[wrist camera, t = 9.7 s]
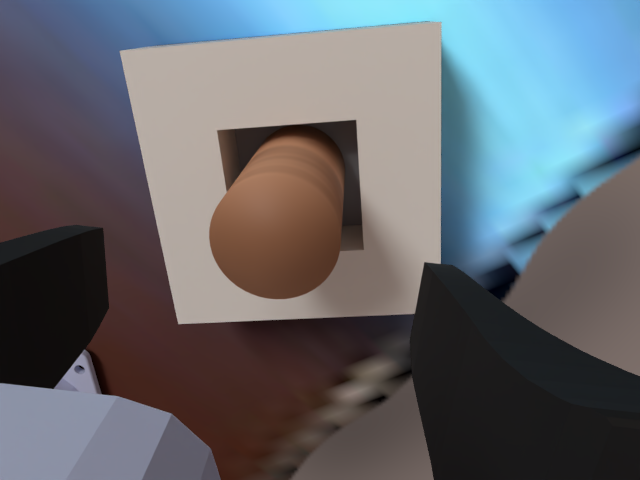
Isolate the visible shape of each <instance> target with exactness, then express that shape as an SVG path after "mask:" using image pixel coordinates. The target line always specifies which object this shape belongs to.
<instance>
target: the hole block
mask: <svg viewBox="0 0 640 480" xmlns="http://www.w3.org/2000/svg"><path fill="white" fill-rule="evenodd" d="M120 55H121V59H122V64H123V69H124V73H125V78H126V83H127V87H128V92H129V97H130V101H131V106H132V111H133V115H134V120H135V124H136V129H137V134H138V138H139V143H140V148H141V152H142V157H143V162H144V166H145V171H146V176H147V180H148V185H149V190H150V194H151V199H152V204H153V208H154V213H155V218H156V222H157V227H158V232H159V236H160V241H161V245H162V250H163V255H164V259H165V264H166V269H167V273H168V278H169V283H170V287H171V292H172V297H173V301H174V306H175V311H176V315H177V320H178V324H190V323H214V322H237V321H260V320H283V319H307V318H330V317H353V316H376V315H400V314H415V310H416V305H417V299H418V294H419V288H420V283H421V277H422V272H423V267H424V262H427V263H437V264H441V22H430V21H425V22H413V23H402V24H391V25H380V26H369V27H358V28H347V29H336V30H324V31H313V32H302V33H291V34H280V35H269V36H258V37H246V38H235V39H224V40H213V41H202V42H191V43H180V44H168V45H157V46H150V47H143V48H136V49H129V50H122V51H120ZM291 125H306V126H311V127H314V128H316V129H319V130H321V131H323V132H324V133H326V134H327V135H328V136H329V137H330V138H332V139H333V140H334V142H335V143H336V144H337V146H338V147H339V149H340V151H341V153H342V155H343V159H344V163H345V183H344V199H343V215H342V231H341V246H340V253H339V257H338V260H337V263H336V265H335V267H334V269H333V271H332V272H331V274H330V275H329V276H328V278H327V279H326V280H325V281H324V282H323V283H322V284H321V285H320V286H318V287H317V288H315V289H314V290H312V291H310V292H308V293H307V294H304V295H301V296H298V297H294V298H289V299H268V298H263V297H259V296H256V295H253V294H250V293H248V292H246V291H244V290H242V289H241V288H239V287H238V286H236V285H235V284H234V283H232V282H231V281H230V280H229V279H228V278H227V277H226V276H225V275H224V274H223V272H222V271H221V270H220V268H219V267H218V265H217V263H216V261H215V259H214V257H213V254H212V251H211V247H210V241H209V228H210V222H211V219H212V216H213V213H214V211H215V209H216V207H217V206H218V204H219V203H220V201H221V200H222V198H223V197H224V196H225V194H226V193H227V191H228V190H229V189H230V187H231V186H232V185H233V183H234V182H235V180H236V179H237V178H238V176H239V175H240V173H241V172H242V171H243V169H244V168H245V167H246V165H247V164H248V162H249V161H250V160H251V158H252V157H253V156H254V154H255V153H256V151H257V150H258V149H259V147H260V146H261V144H262V143H263V142H264V141H265V139H266V138H267V137H268V136H270V135H271V134H272V133H273V132H275V131H277V130H279V129H281V128H283V127H287V126H291Z"/></svg>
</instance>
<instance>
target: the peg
mask: <svg viewBox="0 0 640 480" xmlns="http://www.w3.org/2000/svg"><path fill="white" fill-rule="evenodd" d="M344 183H345V163H344V159H343V155H342V153H341V151H340V149H339V147H338V146H337V144H336V143H335V142H334V140H333V139H332V138H330V137H329V136H328V135H327V134H326V133H324V132H323V131H321V130H319V129H316V128H314V127H311V126H306V125H291V126H287V127H283V128H281V129H279V130H277V131H275V132H273V133H272V134H271V135H270V136H268V137H267V138H266V139H265V141H264V142H263V143H262V144H261V146H260V147H259V149H258V150H257V151H256V153H255V154H254V156H253V157H252V158H251V160H250V161H249V162H248V164H247V165H246V167H245V168H244V169H243V171H242V172H241V173H240V175H239V176H238V178H237V179H236V180H235V182H234V183H233V185H232V186H231V187H230V189H229V190H228V191H227V193H226V194H225V196H224V197H223V198H222V200H221V201H220V203H219V204H218V206H217V207H216V209H215V211H214V213H213V216H212V219H211V222H210V228H209V241H210V247H211V251H212V254H213V257H214V259H215V261H216V263H217V265H218V267H219V268H220V270H221V271H222V272H223V274H224V275H225V276H226V277H227V278H228V279H229V280H230V281H231V282H232V283H234V284H235V285H236V286H238V287H239V288H241V289H242V290H244V291H246V292H248V293H250V294H253V295H256V296H259V297H263V298H268V299H289V298H294V297H298V296H301V295H304V294H307V293H308V292H310V291H312V290H314V289H315V288H317V287H318V286H320V285H321V284H322V283H323V282H324V281H325V280H326V279H327V278H328V276H329V275H330V274H331V272H332V271H333V269H334V267H335V265H336V263H337V260H338V257H339V253H340V246H341V231H342V215H343V199H344Z"/></svg>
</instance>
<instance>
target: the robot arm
mask: <svg viewBox="0 0 640 480" xmlns="http://www.w3.org/2000/svg"><path fill="white" fill-rule="evenodd" d="M108 309H109V302H108V288H107V275H106V261H105V248H104V234H103V228H98V227H89V226H80V225H73V226H65V227H59V228H54V229H50V230H46V231H42V232H38V233H34V234H31V235H27V236H23V237H20V238H16V239H13V240H9V241H5V242H2V243H0V480H221V479H220V476H219V473H218V470H217V467H216V464H215V461H214V458H213V454H212V451H211V449H210V448H209V447H208V446H207V445H206V444H205V443H204V442H203V441H201V440H200V439H199V438H198V437H197V436H196V435H195V434H194V433H193V432H191V431H190V430H189V429H188V428H187V427H186V426H185V425H184V424H182V423H181V422H180V421H179V420H178V419H177V418H176V417H175V416H174V415H172V414H170V413H167V412H164V411H161V410H158V409H155V408H152V407H149V406H146V405H143V404H140V403H137V402H134V401H131V400H127V399H124V398H121V397H118V396H110V395H102V394H101V390H100V387H99V384H98V380H97V377H96V373H95V370H94V367H93V363H92V360H91V356H90V354H89V353H88V352H87V351H86V350H84V349H85V348H86V347H87V345H88V344H89V343H90V341H91V340H92V338H93V336H94V334H95V333H96V331H97V329H98V328H99V326H100V324H101V322H102V320H103V318H104V316H105V314H106V312H107V311H108ZM410 351H411V366H412V378H413V382H414V388H415V392H416V397H417V402H418V406H419V411H420V415H421V420H422V424H423V429H424V433H425V437H426V442H427V447H428V451H429V456H430V460H431V465H432V471H433V477H434V480H640V376H638V375H635V374H632V373H630V372H627V371H625V370H622V369H620V368H618V367H616V366H614V365H611V364H609V363H607V362H605V361H602V360H600V359H598V358H596V357H593V356H591V355H589V354H587V353H585V352H583V351H581V350H579V349H577V348H575V347H573V346H572V345H570V344H568V343H566V342H564V341H562V340H560V339H558V338H557V337H555V336H553V335H551V334H550V333H548V332H546V331H545V330H543V329H541V328H539V327H538V326H536V325H535V324H533V323H532V322H530V321H529V320H527V319H526V318H524V317H523V316H521V315H520V314H518V313H517V312H515V311H514V310H513V309H511V308H510V307H508V306H507V305H506V304H504V303H503V302H502V301H500V300H499V299H498V298H496V297H495V296H494V295H492V294H491V293H490V292H488V291H487V290H486V289H484V288H483V287H482V286H481V285H479V284H478V283H477V282H475V281H474V280H473V279H472V278H470V277H469V276H468V275H466V274H465V273H464V272H462V271H461V270H459V269H458V268H456V267H455V266H453V265H446V264H437V263H427V262H424V267H423V272H422V277H421V283H420V288H419V294H418V299H417V305H416V310H415V315H414V321H413V326H412V332H411V337H410ZM79 365H80V366H82V367H84V369H82V368H80V367H79Z"/></svg>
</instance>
